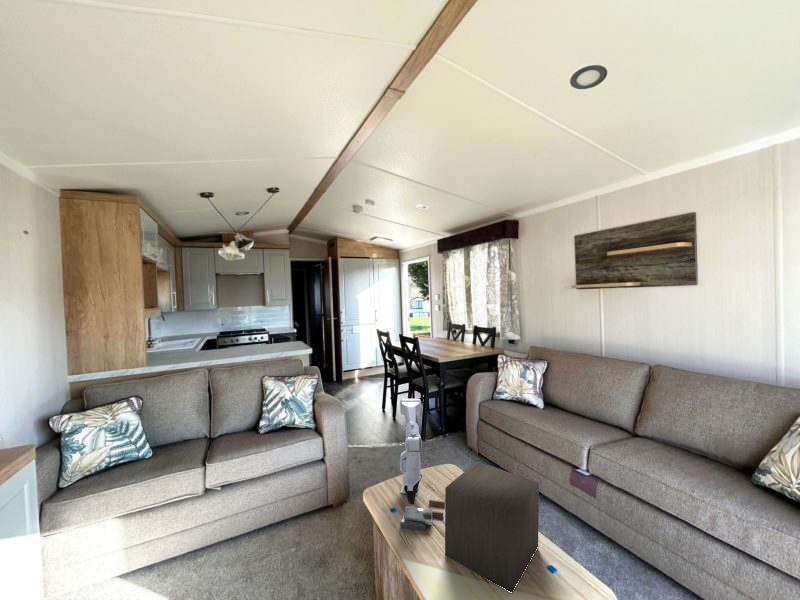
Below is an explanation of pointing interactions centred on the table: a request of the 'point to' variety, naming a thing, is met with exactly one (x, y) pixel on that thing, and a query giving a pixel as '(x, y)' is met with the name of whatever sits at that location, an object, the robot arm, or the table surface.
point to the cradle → (412, 524)
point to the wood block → (492, 523)
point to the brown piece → (437, 503)
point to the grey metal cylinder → (418, 515)
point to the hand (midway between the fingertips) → (413, 498)
